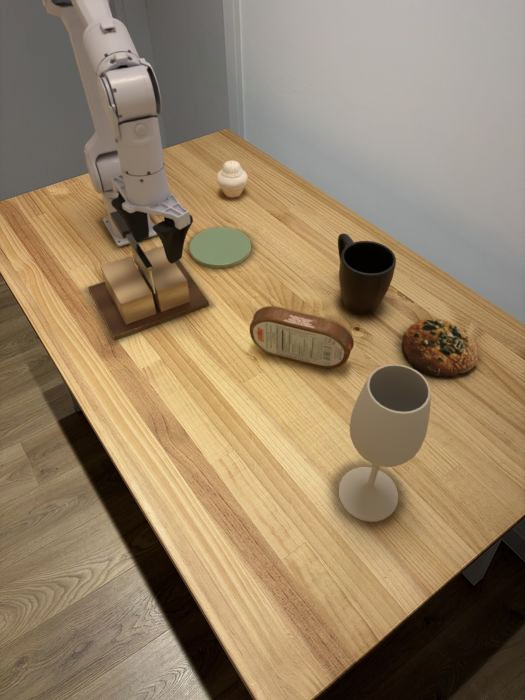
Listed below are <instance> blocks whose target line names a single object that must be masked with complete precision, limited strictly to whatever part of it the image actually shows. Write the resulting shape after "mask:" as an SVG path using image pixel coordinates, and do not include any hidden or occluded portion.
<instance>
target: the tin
mask: <svg viewBox="0 0 525 700" xmlns="http://www.w3.org/2000/svg"><path fill="white" fill-rule="evenodd" d="M249 335H250V338H251V341H252V342H253V343H254V344H255V345H256V346H257V348H259V349H260V350H262V351H263V352H266V353H267V354H268V355H269V354H270V355H273V356H276V357H280V358H283V359H286V360H287V359H288V360H290V361H295V362H298V363H301V364H302V363H303V364H306V365H310V366H313V367H317V368H321V369H335V368H339V367H341V366H343V365H344V364H345V363H346V362H347V361H348V359H349V358H350V355H351V353H352V350H353V348H354V344H355V341H354V337H353V335H352V333H351V332H350V331H349V330H348V329H347V327H345V326H344V325H343V324H341V323H340V322H338V321H335V320H333V319H330V318H328V317H327V318H326V317H322V316H319V315H315V314H309V313H305V312H301V311H297V310H293V309H289V308H285V307H281V306H276V305H268V306H263V307H260V308H259V309H257V311H255V312H254V315H253V318H252V320H251V323H250V325H249Z"/></svg>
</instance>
